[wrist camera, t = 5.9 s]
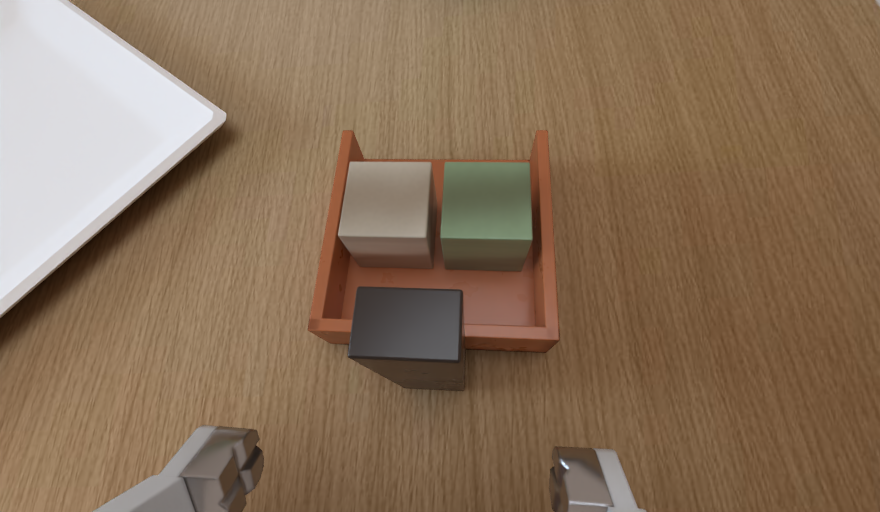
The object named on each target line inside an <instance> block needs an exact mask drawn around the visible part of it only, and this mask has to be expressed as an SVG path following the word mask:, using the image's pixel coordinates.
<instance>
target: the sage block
mask: <svg viewBox="0 0 880 512" xmlns="http://www.w3.org/2000/svg"><path fill="white" fill-rule="evenodd" d="M440 239H441V245H442V252H443V258H444V265H445V269H447V270H484V271H522V268H523V266H524V263H525V260H526V257H527V254H528V251H529V248H530V246H531V243H532V240H533V232H532V205H531V178H530V163H529V162H445V164H444V181H443V199H442V216H441V233H440Z"/></svg>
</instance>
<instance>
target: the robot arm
mask: <svg viewBox="0 0 880 512" xmlns="http://www.w3.org/2000/svg"><path fill="white" fill-rule="evenodd" d="M258 441H259V436H258V432H257V430H254V429H245V428H234V427H222V426H207V425H202V426H200V427H199V428H197V429H196V430H195V431H194V432H193V434H192V435H191V436H190V437H189V439H188V440H187V441H186V442H185V443H184V445H183V446H182V447H181V448H180V449H179V451H178V452H177V453H176V454H175V456H174V457H173V458H172V459H171V460H170V462H169V463H168V464H167V465H166V467H165V468H164V469H163V470H162V471H161V473H160V474H159V475H152V476H151V477H149V478H147V479H146V480H144V481H142V482H141V483H139V484H137V485H136V486H134V487H132V488H131V489H129V490H127V491H126V492H124V493H122V494H121V495H119V496H117V497H116V498H114V499H112V500H111V501H109V502H107V503H106V504H104V505H102V506H101V507H99V508H97V509H96V510H94V511H92V512H242V511H243V509H244V508H245V506H246V497H245V495H247V494H248V493H249V492H251V491H252V490H253V489H255V487H256V486H257V484H258V482H259V480H260V478H261V474H262V471H263V467H264V456H263V452H262V450H261V449H260V448H259V447H257V446H256V444H257V442H258ZM552 459H553V464H554V467H552V468H551V469H550V478H549V490H550V499H551V505H552V509H553V511H554V512H647V511H646V510H645V509H638V507H637V504H636V502H635V499H634V497H633V494H632V492H631V489H630V487H629V484H628V481H627V479H626V476H625V474H624V471H623V469H622V466H621V464H620V461H619V458H618V456H617V453H616V452H615V451H614V450H613V449H596V448H594V449H592V448H579V447H557V446H555V447H554V449H553V454H552Z"/></svg>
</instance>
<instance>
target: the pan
mask: <svg viewBox="0 0 880 512" xmlns="http://www.w3.org/2000/svg"><path fill="white" fill-rule="evenodd" d="M350 162H431V163H432V169H433V176H434V183H435V190H436V197H437V219H436V234H435V250H434V266H433V269H418V268H381V267H360V266H359V265H358V264H357V262H356V261H355V259H354V258H353V256H352V255H351V254H350V252H349V251H348V249H347V248H346V246H345V245H344V244H343V242H342V241H341V239H340V238H339V236H338V232H339V225H340V219H341V213H342V207H343V201H344V195H345V189H346V182H347V176H348V170H349V164H350ZM445 162H529V163H530V178H531V205H532V232H533V240H532V243H531V246H530V248H529V251H528V254H527V257H526V260H525V263H524V266H523V268H522V271H484V270H447V269H445V265H444V258H443V252H442V245H441V239H440V233H441V216H442V199H443V181H444V164H445ZM308 331H310V332H312V333H313V334H315V335H317V336H318V337H320V338H322V339H324V340H325V341H327V342H329V343H332V344H349V348H348V357H349V358H350V359H352V360H354V361H356V362H358V363H359V364H361V365H363V366H365V367H367V368H369V369H370V370H372V371H374V372H376V373H378V374H380V375H381V376H383V377H385V378H387V379H389V380H391V381H392V382H394V383H396V384H398V385H400V386H402V387H403V388H412V389H432V390H451V391H464V389H465V354H466V349H473V350H497V351H520V352H544V353H546V352H547V351H548V350H550V349H551V348H552V347H553V346H554V345H555V344H556V343H557V342H558V341H559V340H560V333H559V316H558V299H557V282H556V265H555V248H554V231H553V213H552V196H551V179H550V162H549V145H548V131H547V130H537V131H536V135H535V139H534V143H533V147H532V152H531V156H530V160H428V159H364V157H363V155H362V152H361V150H360V147H359V145H358V142H357V140H356V137H355V135H354V132H353V131H352V130H344V131H343V133H342V138H341V144H340V150H339V155H338V161H337V167H336V172H335V178H334V184H333V189H332V195H331V201H330V206H329V212H328V217H327V223H326V229H325V234H324V240H323V246H322V251H321V257H320V263H319V268H318V274H317V280H316V285H315V291H314V297H313V302H312V308H311V314H310V319H309V325H308Z"/></svg>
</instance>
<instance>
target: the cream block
mask: <svg viewBox="0 0 880 512" xmlns="http://www.w3.org/2000/svg"><path fill="white" fill-rule="evenodd" d="M436 219H437V197H436V190H435V183H434V176H433V169H432V163H431V162H350V164H349V170H348V176H347V182H346V189H345V195H344V201H343V207H342V213H341V219H340V225H339V232H338V236H339V238H340V239H341V241H342V242H343V244H344V245H345V246H346V248H347V249H348V251H349V252H350V254H351V255H352V256H353V258H354V259H355V261H356V262H357V264H358V265H359V266H360V267H381V268H418V269H433V266H434V250H435V234H436Z"/></svg>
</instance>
